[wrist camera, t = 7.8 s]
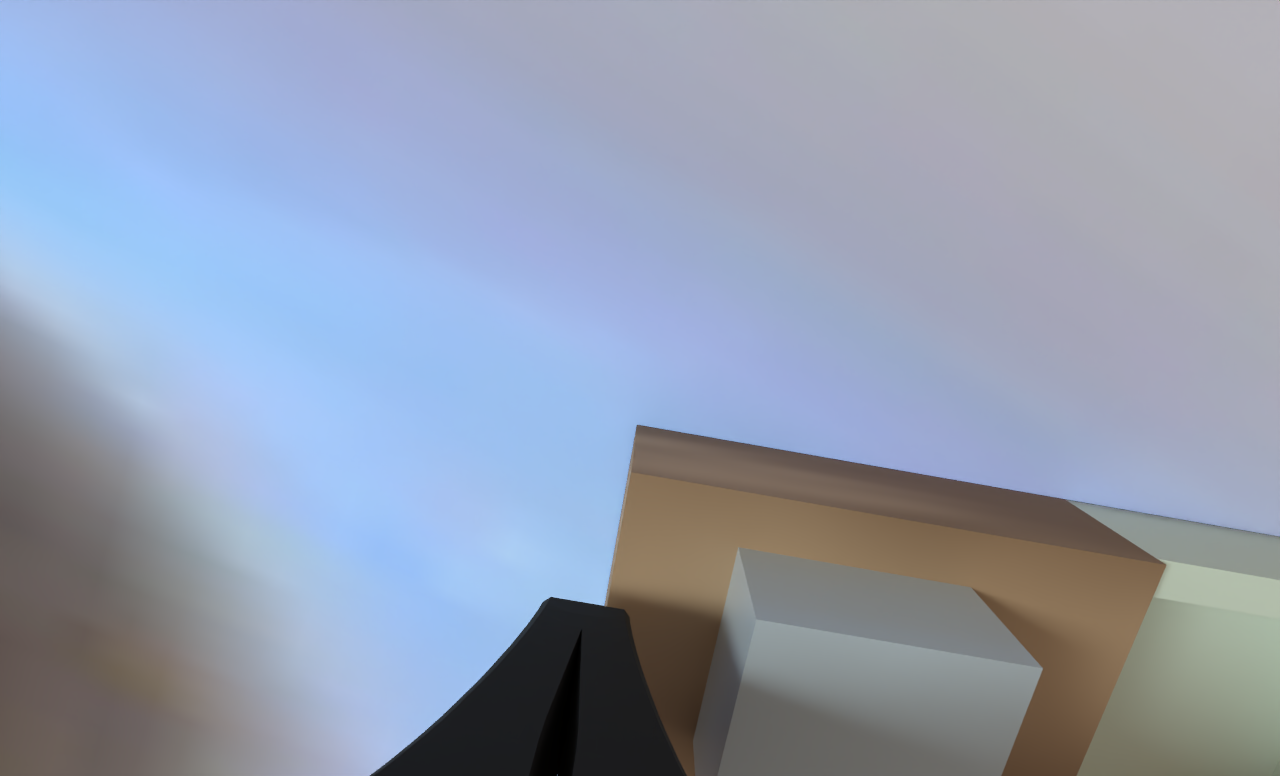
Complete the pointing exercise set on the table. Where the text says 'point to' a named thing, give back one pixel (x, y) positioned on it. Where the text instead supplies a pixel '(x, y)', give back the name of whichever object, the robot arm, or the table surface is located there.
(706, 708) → the slate tile
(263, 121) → the table surface
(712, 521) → the walnut board
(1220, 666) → the tray
